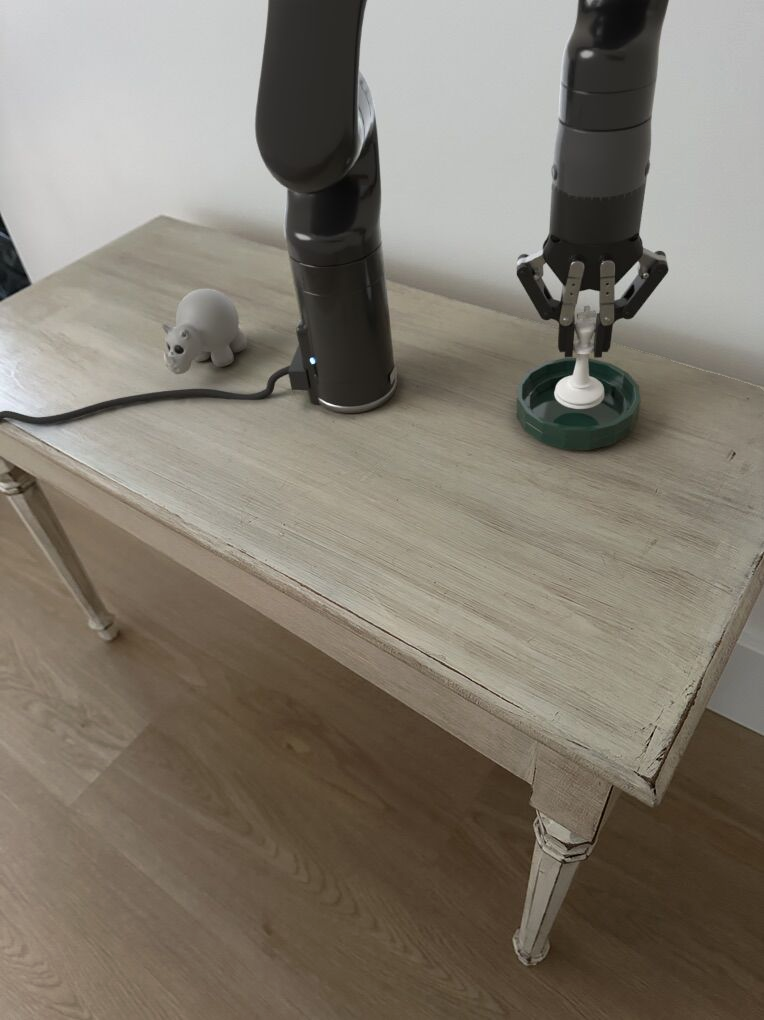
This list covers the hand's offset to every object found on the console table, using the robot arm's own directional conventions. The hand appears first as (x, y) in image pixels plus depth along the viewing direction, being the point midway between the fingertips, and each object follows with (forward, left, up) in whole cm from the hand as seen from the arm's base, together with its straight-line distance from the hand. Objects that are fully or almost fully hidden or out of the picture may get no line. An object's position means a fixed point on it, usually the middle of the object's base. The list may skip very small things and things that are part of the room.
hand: (582, 352), depth 76 cm
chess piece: (0, 0, -5) cm, 5 cm away
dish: (0, 0, -8) cm, 8 cm away
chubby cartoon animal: (-43, +8, -8) cm, 45 cm away
